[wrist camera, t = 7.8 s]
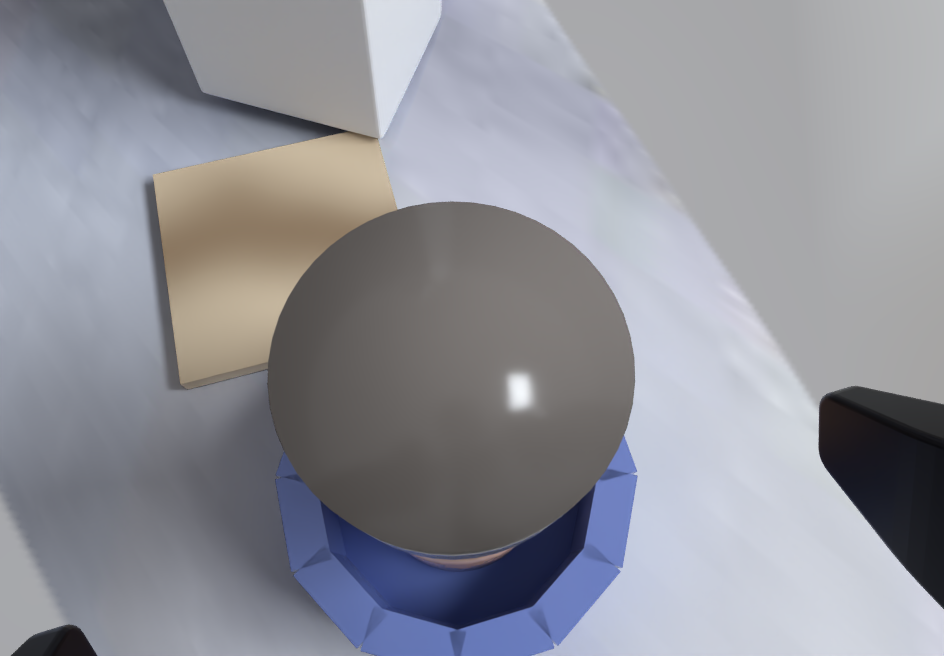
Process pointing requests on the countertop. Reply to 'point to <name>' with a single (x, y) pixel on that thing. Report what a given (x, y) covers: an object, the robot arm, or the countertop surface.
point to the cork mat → (256, 242)
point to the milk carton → (308, 55)
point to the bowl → (459, 576)
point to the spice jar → (451, 380)
